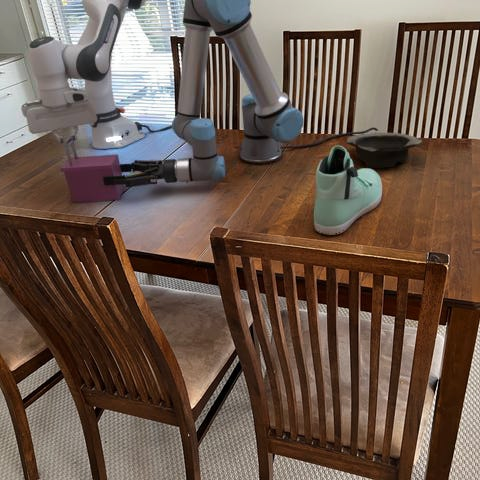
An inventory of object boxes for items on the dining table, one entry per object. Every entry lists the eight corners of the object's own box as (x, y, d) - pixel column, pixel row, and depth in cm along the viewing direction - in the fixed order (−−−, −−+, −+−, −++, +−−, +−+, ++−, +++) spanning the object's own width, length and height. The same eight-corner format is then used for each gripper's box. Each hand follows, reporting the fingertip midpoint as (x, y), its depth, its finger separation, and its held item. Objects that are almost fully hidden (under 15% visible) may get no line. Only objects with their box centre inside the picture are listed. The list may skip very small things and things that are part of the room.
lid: (61, 171, 150) (53, 144, 145) (70, 160, 158) (62, 134, 153) (111, 168, 149) (105, 141, 144) (118, 157, 157) (112, 131, 152)
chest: (72, 202, 155) (63, 171, 150) (80, 190, 163) (72, 160, 158) (118, 199, 155) (111, 168, 149) (125, 187, 162) (118, 157, 157)
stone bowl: (379, 179, 153) (379, 151, 149) (331, 161, 173) (330, 135, 169) (436, 160, 162) (438, 133, 158) (384, 144, 182) (385, 120, 178)
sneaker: (389, 187, 148) (396, 123, 138) (356, 242, 123) (361, 168, 112) (346, 181, 154) (350, 119, 144) (306, 232, 129) (307, 161, 118)
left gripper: (19, 105, 136) (34, 151, 144) (92, 93, 143) (102, 138, 150) (19, 100, 142) (32, 145, 149) (89, 89, 148) (99, 132, 155)
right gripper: (174, 196, 147) (101, 200, 148) (182, 168, 165) (118, 172, 166) (170, 173, 143) (96, 177, 144) (179, 147, 161) (113, 151, 162)
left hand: (68, 141), depth 149 cm, fingers closed on lid, 3 cm apart
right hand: (108, 174), depth 155 cm, fingers closed on chest, 9 cm apart
